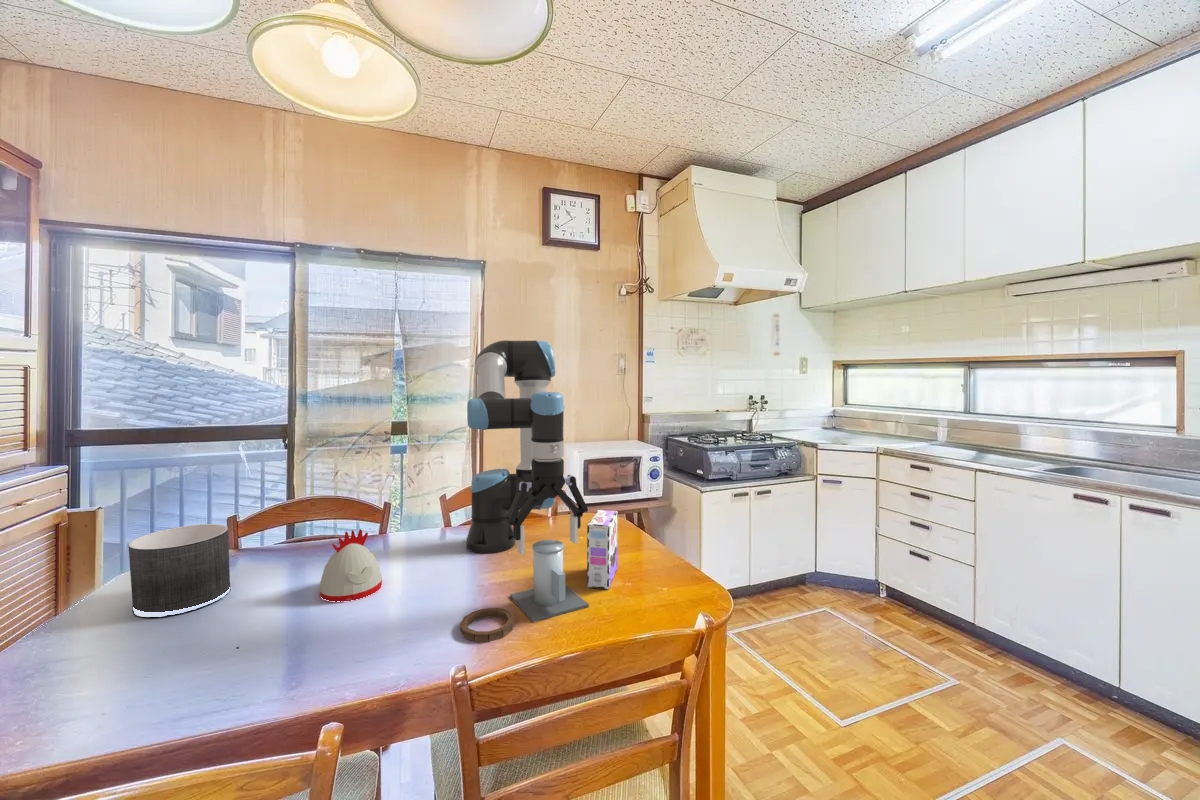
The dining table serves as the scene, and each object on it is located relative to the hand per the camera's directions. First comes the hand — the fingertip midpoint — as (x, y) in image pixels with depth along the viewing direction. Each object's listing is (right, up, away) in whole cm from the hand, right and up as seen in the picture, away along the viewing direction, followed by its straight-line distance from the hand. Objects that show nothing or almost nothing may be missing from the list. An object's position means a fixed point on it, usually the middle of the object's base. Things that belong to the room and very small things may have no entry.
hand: (548, 547), depth 114 cm
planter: (-87, -13, +1) cm, 88 cm away
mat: (0, -13, 0) cm, 13 cm away
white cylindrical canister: (+1, -13, -1) cm, 13 cm away
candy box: (+13, -13, +14) cm, 23 cm away
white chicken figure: (-50, -13, +7) cm, 52 cm away
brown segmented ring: (-12, -14, -11) cm, 21 cm away
